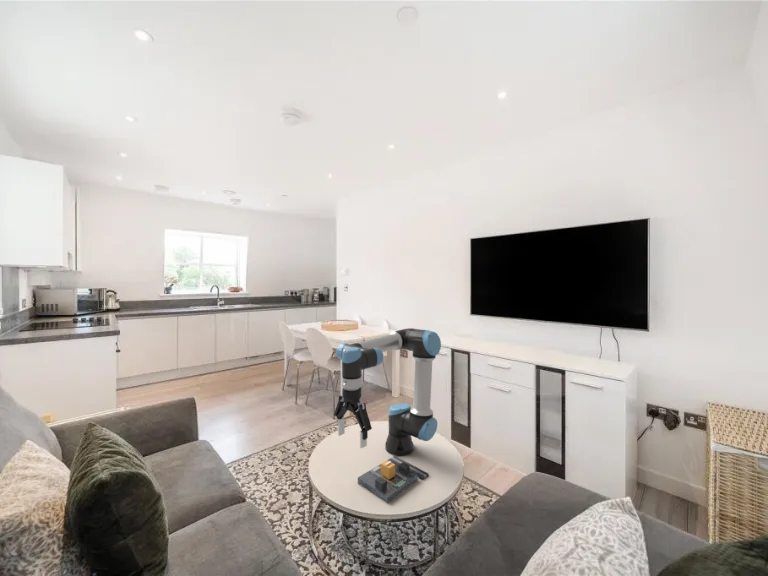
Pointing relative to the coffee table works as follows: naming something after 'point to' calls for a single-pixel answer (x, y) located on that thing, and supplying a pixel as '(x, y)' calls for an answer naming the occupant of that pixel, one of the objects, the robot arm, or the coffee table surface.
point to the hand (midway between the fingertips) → (352, 440)
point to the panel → (388, 481)
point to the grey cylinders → (413, 469)
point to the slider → (388, 469)
